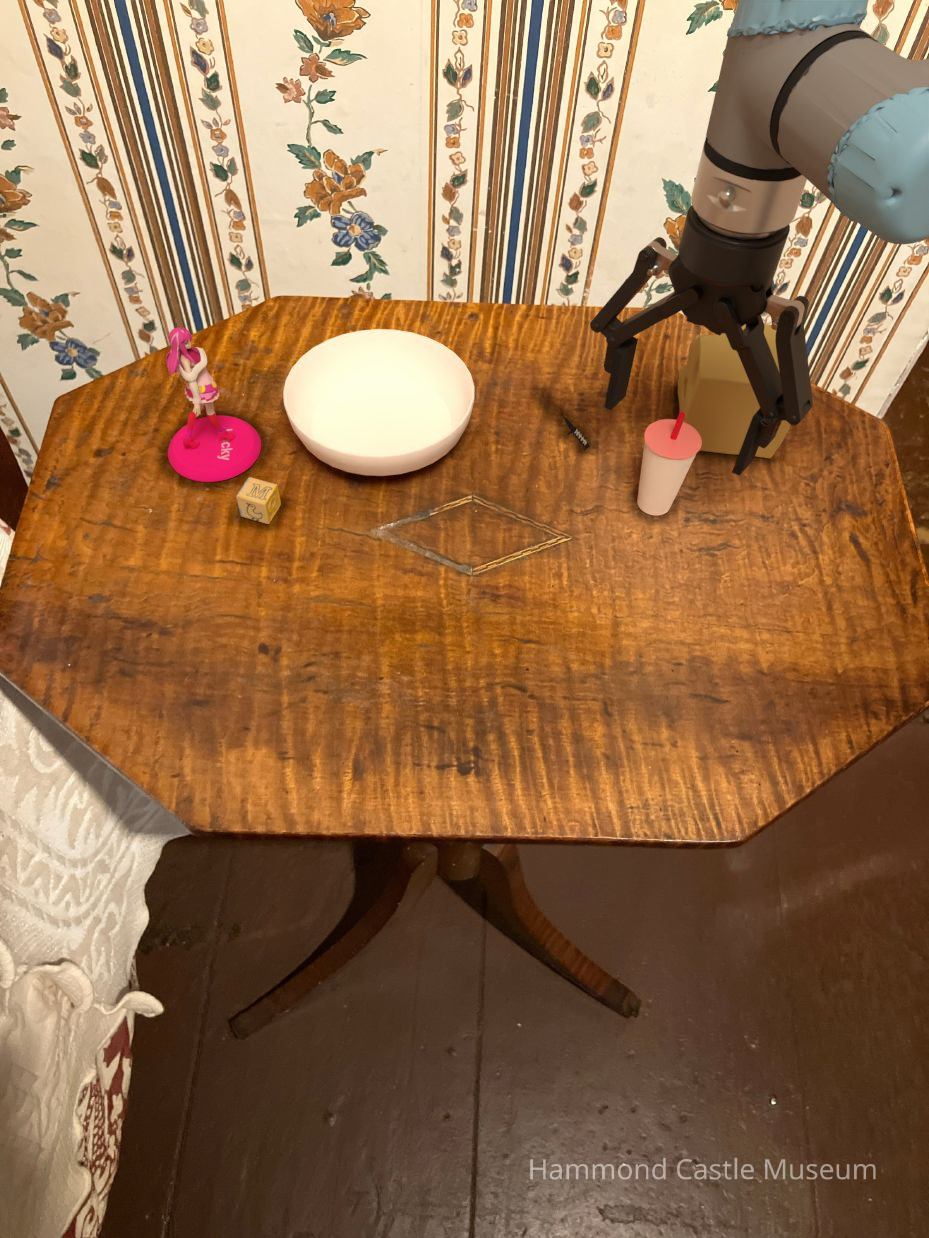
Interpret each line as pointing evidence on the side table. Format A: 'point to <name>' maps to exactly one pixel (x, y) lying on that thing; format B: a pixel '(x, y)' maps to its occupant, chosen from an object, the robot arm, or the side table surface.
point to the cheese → (722, 395)
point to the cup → (666, 462)
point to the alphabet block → (258, 500)
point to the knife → (576, 433)
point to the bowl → (379, 401)
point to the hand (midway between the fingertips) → (677, 433)
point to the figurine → (206, 422)
